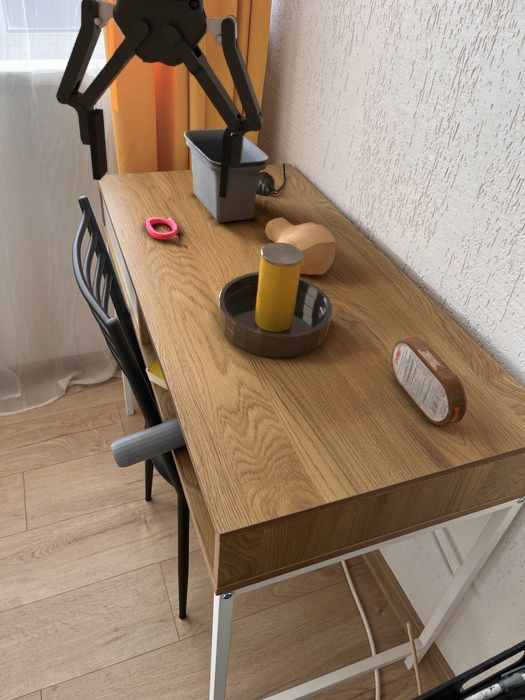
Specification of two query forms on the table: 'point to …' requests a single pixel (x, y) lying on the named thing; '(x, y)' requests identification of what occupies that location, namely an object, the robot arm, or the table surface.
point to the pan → (248, 336)
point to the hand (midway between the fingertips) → (162, 184)
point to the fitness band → (161, 235)
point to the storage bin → (209, 170)
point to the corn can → (278, 286)
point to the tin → (428, 381)
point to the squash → (305, 243)
